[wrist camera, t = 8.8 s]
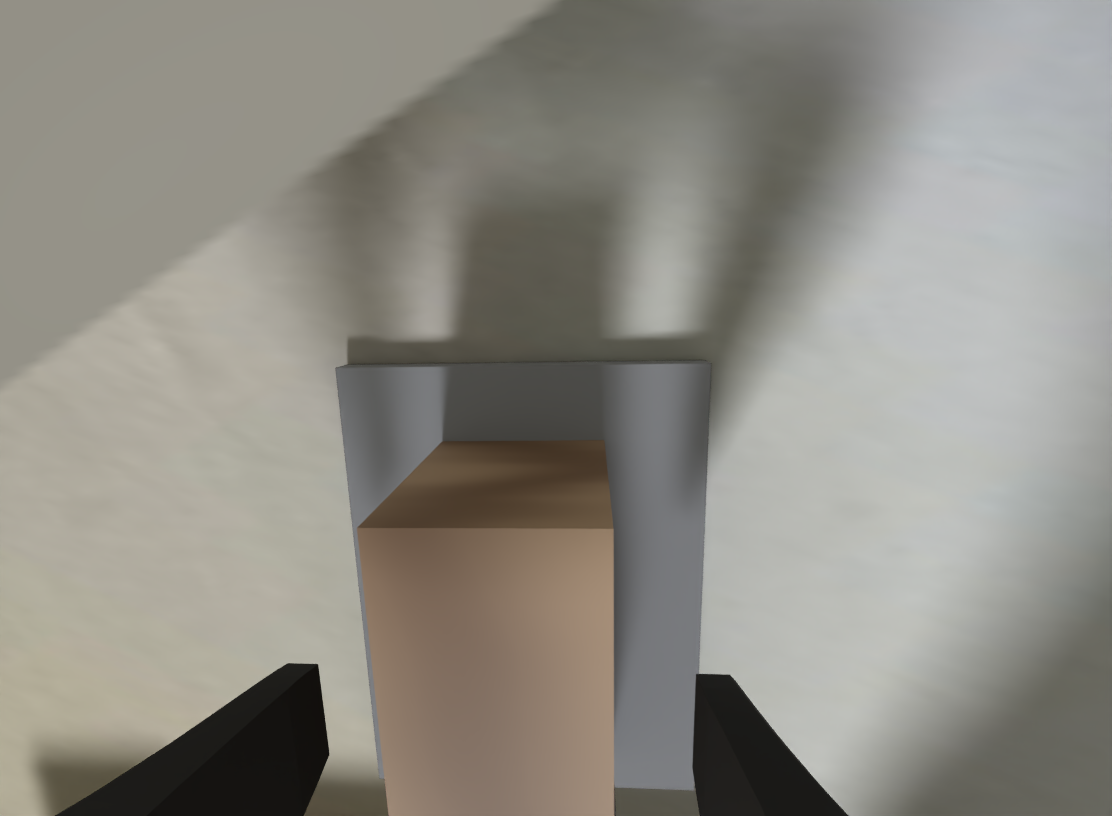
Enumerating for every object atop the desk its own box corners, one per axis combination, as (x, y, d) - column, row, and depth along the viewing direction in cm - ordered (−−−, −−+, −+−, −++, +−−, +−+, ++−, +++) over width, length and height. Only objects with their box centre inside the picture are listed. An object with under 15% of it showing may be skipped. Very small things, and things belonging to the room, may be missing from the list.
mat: (705, 359, 13) (711, 363, 12) (689, 771, 16) (694, 790, 15) (346, 364, 14) (335, 367, 13) (386, 761, 16) (379, 778, 16)
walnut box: (608, 440, 13) (620, 535, 8) (609, 752, 15) (620, 990, 10) (438, 441, 13) (345, 533, 8) (460, 748, 15) (396, 976, 10)
